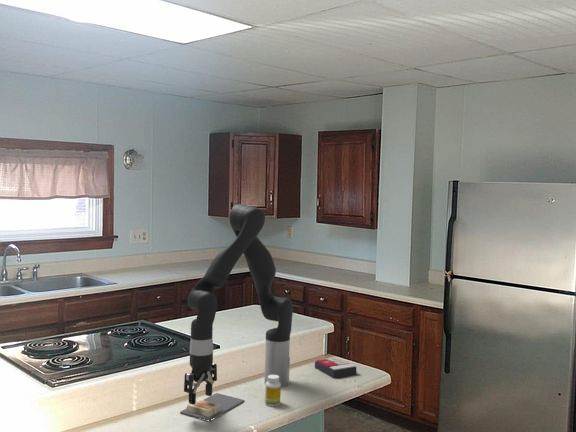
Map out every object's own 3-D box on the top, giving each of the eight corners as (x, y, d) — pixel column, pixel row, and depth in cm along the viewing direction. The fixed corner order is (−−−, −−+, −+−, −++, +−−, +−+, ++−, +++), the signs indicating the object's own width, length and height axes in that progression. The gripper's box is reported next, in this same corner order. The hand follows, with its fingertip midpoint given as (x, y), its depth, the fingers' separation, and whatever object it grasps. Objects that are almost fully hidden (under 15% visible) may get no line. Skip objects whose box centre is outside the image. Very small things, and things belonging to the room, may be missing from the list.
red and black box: (336, 356, 242) (357, 365, 229) (336, 366, 242) (356, 375, 229) (314, 359, 237) (334, 368, 224) (314, 369, 237) (334, 379, 224)
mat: (216, 394, 204) (216, 392, 204) (244, 401, 198) (244, 400, 198) (180, 413, 186) (180, 411, 186) (209, 421, 180) (209, 420, 180)
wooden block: (220, 404, 188) (209, 410, 182) (220, 410, 188) (209, 417, 183) (198, 398, 192) (187, 404, 187) (198, 405, 192) (187, 411, 187)
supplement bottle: (262, 401, 198) (263, 374, 198) (276, 399, 200) (277, 373, 200) (268, 407, 193) (269, 379, 193) (282, 405, 196) (283, 378, 195)
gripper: (196, 358, 177) (195, 409, 178) (223, 347, 189) (222, 395, 190) (178, 354, 181) (177, 404, 182) (205, 343, 193) (205, 390, 194)
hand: (200, 399), depth 186 cm, fingers open, 8 cm apart
